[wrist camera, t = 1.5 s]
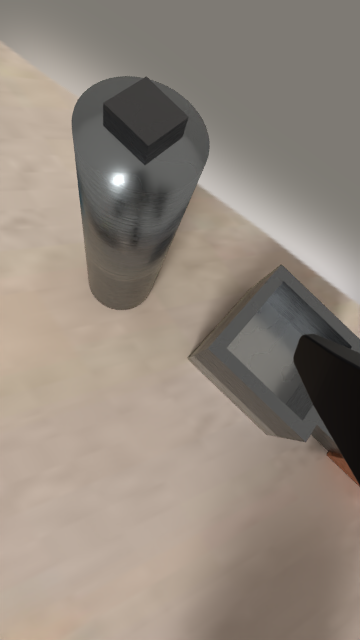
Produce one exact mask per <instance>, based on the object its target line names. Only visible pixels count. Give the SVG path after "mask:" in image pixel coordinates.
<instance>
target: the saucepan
mask: <svg viewBox="0 0 360 640" xmlns="http://www.w3.org/2000/svg"><path fill="white" fill-rule="evenodd" d="M304 334H317V335H319V336H321V337H324V338H326V339H328V340H331V341H333V342H335V343H337V344H340V345H342V346H344V347H347V348H349V349H351V350H354V351H356V352H358V353H360V339H359V338H358V337H357V336H356V335H355V334H354V333H353V332H352V331H351V330H349V329H348V328H347V327H346V326H345V325H344V324H343V323H342V322H341V321H340V320H339V319H338V318H337V317H336V316H335V315H334V314H333V313H332V312H331V311H330V310H329V309H327V308H326V307H325V306H324V305H323V304H322V303H321V302H320V301H319V300H318V299H317V298H316V297H315V296H314V295H313V294H312V293H311V292H310V291H309V290H308V289H307V288H306V287H304V286H303V285H302V284H301V283H300V282H299V281H298V280H297V279H296V278H295V277H294V276H293V275H292V274H291V273H290V272H289V271H288V270H287V269H286V268H285V267H284V266H282V265H280V266H279V267H277V268H276V269H275V270H274V271H272V272H271V273H270V274H268V275H267V276H266V277H265V278H263V279H262V280H261V281H259V282H258V283H257V284H256V285H254V286H253V287H252V288H250V290H249V291H248V292H247V293H246V294H245V295H244V296H243V297H242V298H241V300H240V301H239V302H238V303H237V304H236V305H235V306H234V307H233V309H232V310H231V311H230V312H229V313H228V314H227V315H226V316H225V317H224V319H223V320H222V321H221V322H220V323H219V324H218V325H217V326H216V328H215V329H214V330H213V331H212V332H211V333H210V334H209V335H208V336H207V338H206V339H205V340H204V341H203V342H202V343H201V344H200V345H199V347H198V348H197V349H196V350H195V351H194V352H193V353H192V354H191V355H190V357H189V358H188V360H189V361H190V362H191V363H192V364H193V365H194V366H196V367H197V368H198V369H199V370H200V371H201V372H202V373H203V374H204V375H205V376H206V377H207V378H208V379H209V380H210V381H211V382H212V383H213V384H214V385H215V386H216V387H217V388H218V389H220V390H221V391H222V392H223V393H224V394H225V395H226V396H227V397H228V398H229V399H230V400H231V401H232V402H233V403H234V404H235V405H236V406H237V407H238V408H239V409H240V410H241V411H242V412H244V413H245V414H246V415H247V416H248V417H249V418H250V419H251V420H252V421H253V422H254V423H255V424H256V425H257V426H258V427H259V428H260V429H261V430H262V431H263V432H264V433H265V434H266V435H271V436H277V437H282V438H287V439H292V440H298V441H303V442H306V441H307V439H308V438H309V436H310V434H311V435H312V436H313V437H314V438H315V439H316V440H317V441H318V442H319V443H321V444H322V445H323V446H324V447H325V448H326V449H327V450H328V451H329V452H328V454H327V456H328V457H329V458H331V459H332V460H333V461H334V462H335V463H336V464H337V465H338V466H339V467H340V468H341V469H342V470H343V471H344V472H345V473H346V474H347V475H348V476H349V477H350V478H351V479H352V480H353V481H355V482H356V483H357V484H358V485H359V483H358V482H357V480H356V478H355V477H354V475H353V473H352V471H351V470H350V468H349V466H348V464H347V463H346V461H345V459H344V458H343V456H342V454H341V452H340V451H339V449H338V447H337V446H336V444H335V442H334V440H333V439H332V437H331V435H330V433H329V432H328V430H327V428H326V427H325V425H324V423H323V421H322V420H321V418H320V416H319V415H318V413H317V411H316V409H315V407H314V406H313V404H312V402H311V400H310V397H309V395H308V393H307V391H306V389H305V386H304V384H303V382H302V380H301V378H300V375H299V373H298V371H297V369H296V367H295V365H294V361H293V356H294V353H295V350H296V347H297V344H298V342H299V339H300V337H301V336H302V335H304ZM359 486H360V485H359Z"/></svg>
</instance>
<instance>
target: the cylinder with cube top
mask: <svg viewBox="0 0 360 640" xmlns="http://www.w3.org/2000/svg"><path fill="white" fill-rule="evenodd" d="M72 133H73V142H74V151H75V161H76V170H77V179H78V188H79V197H80V207H81V216H82V225H83V234H84V243H85V252H86V262H87V271H88V280H89V286H90V289H91V292H92V294H93V295H94V297H95V298H96V299H97V300H98V301H99V302H100V303H102V304H103V305H105V306H107V307H109V308H112V309H116V310H127V309H131V308H134V307H136V306H138V305H140V304H141V303H142V302H144V301H145V299H146V298H147V297H148V295H149V293H150V291H151V289H152V286H153V284H154V282H155V279H156V277H157V275H158V273H159V270H160V268H161V266H162V263H163V261H164V259H165V256H166V254H167V252H168V249H169V247H170V245H171V242H172V240H173V238H174V236H175V233H176V231H177V229H178V226H179V224H180V222H181V219H182V217H183V215H184V212H185V210H186V208H187V205H188V203H189V201H190V199H191V196H192V194H193V192H194V189H195V187H196V185H197V182H198V180H199V178H200V175H201V173H202V171H203V169H204V166H205V164H206V161H207V158H208V154H209V137H208V133H207V129H206V126H205V124H204V122H203V120H202V118H201V116H200V115H199V113H198V112H197V111H196V110H195V108H194V107H193V106H192V105H191V104H190V103H189V101H187V100H186V99H185V98H184V97H183V96H181V95H180V94H179V93H177V92H176V91H175V90H173V89H171V88H169V87H168V86H165V85H163V84H161V83H159V82H156V81H153V80H150V79H149V78H147V77H145V78H140V77H130V76H125V77H114V78H109V79H106V80H103V81H100V82H98V83H97V84H94V85H93V86H91V87H90V88H89V89H87V90H86V91H85V92H84V93H83V94H82V95H81V97H80V98H79V99H78V101H77V103H76V105H75V107H74V111H73V115H72Z"/></svg>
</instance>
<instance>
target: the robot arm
mask: <svg viewBox="0 0 360 640" xmlns="http://www.w3.org/2000/svg"><path fill="white" fill-rule="evenodd" d="M293 361H294V365H295V367H296V369H297V371H298V373H299V375H300V378H301V380H302V382H303V384H304V386H305V389H306V391H307V393H308V395H309V397H310V400H311V402H312V404H313V406H314V407H315V409H316V411H317V413H318V415H319V416H320V418H321V420H322V421H323V423H324V425H325V427H326V428H327V430H328V432H329V433H330V435H331V437H332V439H333V440H334V442H335V444H336V446H337V447H338V449H339V451H340V452H341V454H342V456H343V458H344V459H345V461H346V463H347V464H348V466H349V468H350V470H351V471H352V473H353V475H354V477H355V478H356V480H357V482H358V483H359V485H360V353H358V352H356V351H354V350H351V349H349V348H347V347H344V346H342V345H340V344H337V343H335V342H333V341H331V340H328V339H326V338H324V337H321V336H319V335H317V334H304V335H302V336H301V337H300V339H299V342H298V344H297V347H296V350H295V353H294V356H293Z"/></svg>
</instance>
